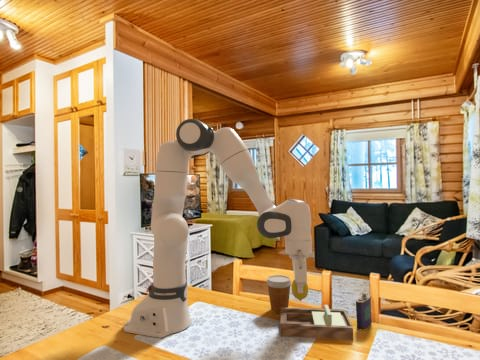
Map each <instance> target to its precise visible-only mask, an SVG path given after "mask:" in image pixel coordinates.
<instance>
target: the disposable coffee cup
mask: <svg viewBox="0 0 480 360" xmlns="http://www.w3.org/2000/svg"><path fill="white" fill-rule="evenodd" d="M265 282H266V285H267V289H268V296H269V304H270V310H271V312H272V313H274V314H280V315H281V307H287V308H289V303H290V293H291V292H290V291H291V286H292V282H293V281H292V280H291V278H290V277H289V276H287V275H283V274H273V275H269V276H268V277H267V280H266V281H265Z"/></svg>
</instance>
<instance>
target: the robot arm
mask: <svg viewBox="0 0 480 360" xmlns="http://www.w3.org/2000/svg"><path fill="white" fill-rule="evenodd" d="M175 132H176V133H175V137H176V140H166V141H165V142H163V143H162V144H161V145H160V146H159V148H158V153H157V156H156V163H155V173H154V174H155V175H154V190H153V191H154V192H153V200H152V201H153V202H152V209H151V219H150V231H151V233H152V234H153V238H154V239H153V259H152V279H153V280H152V282H151V284H150V285H148V287H147V288H146V291H145V292H146V293H148V295H146V296H145V297H144V298H143V299H142V300H141V301H139V302H138V303H137V304H136V305H135V306H134V307H133V309H132V312H131V314H130V315H131V316H130V318H128V320H127V321H126V322H125V323H124V326H123V332H125V333H131V334H136V335H141V336H142V335H143V336H148V337H154V338H159V339H161V338H164V337H166V336H168V335H171V334H175V333H178V332H181V331H183V330H185V329H187V328H188V327H190V325H191V324H192V319H191V315H190V312H189V305H188V295H189V294H188V293H189V291H188V290H189V289H188V281H187V280H186V278H187V277H186V275H187V273H186V271H187V270H186V268H187V267H186V261H187V260H186V258H187V256H186V255H187V250H188V240H189V239H188V237H189V225H188V222H187V221H186V219H185V218H184V217H183V213H184V207H185V202H186V199H187V193H188V191H187V189H188V171H189V170H188V169H189V161H190V159H195V158H199V157H202V156H206V155H207V154H209V153H212V154H213V155H214V156H215V159H216V160H217V162H218V163H219V166H220V167H221V168H222V171H223V172H224V174H225V175H226V176H227V177H228V178H229V180H230V181H231V182H233V183H234V184H236V185H237V186H239V187H241V188H242V189H243V191H245V192H246V194H247V196H248V197H249V198H250V200H251V202H252V204H253V205H254V207H255V208H256V211H257V213H258V218H257V222H256V227H257V230H258V232H259V234H261V236H263V237H264V238H267V239H277V238H282V237H284V241H285V242H284V243H285V244H284V246H285V250H284V251H285V253H286V254H287V255H289V256H288V258H290V259H291V262H292V269H293V275H294V279H295V283H296V284H297V291H298V293H303V285H304V284H306V283H307V284H308V273H307V272H308V271H307V268H308V267H307V259H308V258H309V255H311V254H312V253H313V242H312V241H313V239H312V234H311V228H312V214H311V208H310V205H309V204H308V202H306V201H305V200H300V199H295V198H288V199H286V200H285V201H284V202H282V203H280V204H278V205H276V204H274V202H273V201H272V200H271V198H270V196H269V194H268V192H267V191H266V190H265V188H264V186H263V184H262V181H261V180H260V177H259V174H258V170H257V166H256V163H255V161H254V158H253V156H252V154H251V152H250V150H249V148H248V147H247V145H246V144H245V142H244V141H243V140H242V138H241V137H240V136H239V134H238V133H237V132H236V131H235V129H233V128H232V127H227V126H226V127H221V128H219V129H217V130H214V129H213V127H212V126H210V125H208V124H206V123H204V122H203V121H201V120H199V119H195V118H187V119H184V120H183V121H181V122H180V124H179V125H178V126H177V128H176V131H175Z"/></svg>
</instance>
